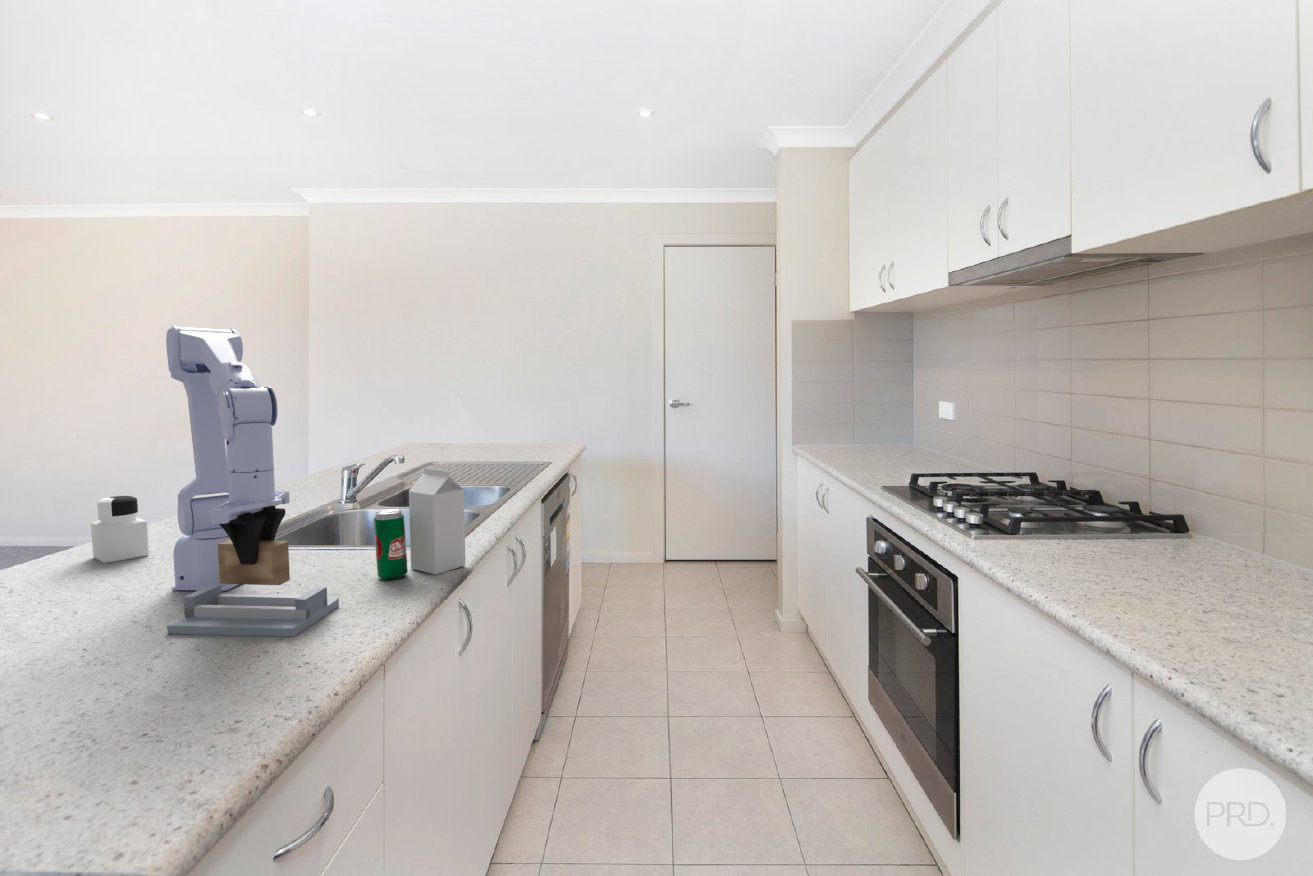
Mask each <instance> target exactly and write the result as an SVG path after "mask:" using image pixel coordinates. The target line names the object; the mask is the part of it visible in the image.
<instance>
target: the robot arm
mask: <svg viewBox="0 0 1313 876" xmlns="http://www.w3.org/2000/svg"><path fill="white" fill-rule="evenodd" d="M165 336H166V339H165V344H166V345H165V347H166V354H167V365H168V366H167V367H168V372H170V378H171V379H173V380H176V381H178V382H180V383H182V385H183V387H184V389H185V393H186V396H187V404H188V405H187V406H188V413H189V414H188V415H189V422H190V423H189V424H190V431H191V442H192V450H193V451H192V452H193V460H194V462H193V463H194V471H195V478H194V479H193V480H192V481H190V482H189V483H187V484H186V485H185V486H184V487H182V488H181V489H180V490H179V492H178V494H177V522H178V527H179V530H180V532H181V534H183V535H182V536H180V538H179V539H178V540H176V543H175V544H174V547H173V555H172V556H173V567H174V569H173V570H174V586H171V590H172V591H198V590H200V589H202V588H205V587H207V586H209V585H211V584H218V585H221V589H222V592H226V591H229V590H231V589H233V588H235V587H237V586H239V585H240V584H220V579H219V559H218V544H219V543H221V542H224V541H227V540H231V541H232V543H233V546H234V548H235V550H236V553H237V556H238V559H239V561H240V564H246V565H254V564H256V563H257V560H258V554H259V540H264V541H276V540H275V539H276V535H277V532H278V529H279V527H280V524H282V521H283V519H284V518H285V516H286V508H277V507H276V506H279V505H289V504H290V491H289V490H276V488H275V487H276V486H275V485H276V484H275V466H274V465H275V463H274V462H275V461H274V445H273V443H274V442H273V441H274V440H273V427H274V426H275V425H276V423H277V420H278V408H279V407H278V399H277V397H276V393H275V391H274V390H273V387H271V386H265V385H264V386H262V385H260V383H259V381H258V380H257V379H256V376H255V375H254V374H253V372H252V370H251V369H250V368H249V367H248V366H247V365H245V364H244V363H242V360H243V356H244V355H243V354H244V345H243V341H242V340H243V339H242V336H241V334H240V333H239V332H238V331H237V329H234V328H232V329H220V328H219V329H217V328H216V329H215V328H198V327H179V326H176V325H172V326H170V327H169V328H168V329H167V332H166V335H165ZM224 493H225V494H224ZM226 493H228V494H226ZM214 494H222V495H214ZM203 495H204V497H195V496H203ZM207 495H213V496H207ZM194 497H195V498H194Z"/></svg>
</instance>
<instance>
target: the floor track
mask: <svg viewBox="0 0 1313 876" xmlns="http://www.w3.org/2000/svg"><path fill="white" fill-rule="evenodd" d="M222 592H223V591H222V589H221V585H218V584H211V585H209V586H207V587H205V588H202V589H200V590H195V591H194V592H191V593H188V594H187V595H185V596H183V611H184V612H183V613H184V617H182V618H180V619H177V620H176V621H173V622H171V623H169V624H167V625H166V628H167V629H166V632H167V633H172V634H171V635H200V636H201V635H202V636H203V635H204V636H209V635H210V636H241V637H243V636H244V637H245V636H246V637H247V636H248V637H287V638H290V637H292V638H293V637H295V636H297V635H298V634H300V633H301V632H302V631H304V630H305V629H307V628H308V627H310V626H312V625H313V624H315V623H316V622H318V621H319V620H320V619H322V618H323V617H325V616H326V615H328V614H329V613H331V612H332V611H334V610H335V609H337V608H338V607H339V606H340V603H339V601H340V599H339V598H333V597H332V598H328V588H327V586H316V587H314V588H312V589H310V590H308V591H307V592H306V593H304V594H301V595H288V594H287V595H283V594H282V595H281V594H280V595H278V594H276V595H275V594H238V593H237V594H231V593H222Z"/></svg>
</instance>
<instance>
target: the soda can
mask: <svg viewBox="0 0 1313 876" xmlns="http://www.w3.org/2000/svg"><path fill="white" fill-rule="evenodd" d="M373 528H374V529H373V530H374V543H375V545H374V546H375V556H376V557H375V558H376V559H375V560H376V570H377V577H378V578H379V579H381V580H384V581H392V580H398V579H402V578H403V577H405V576H406V575H407V574H408V569H409V568H408V557H407V544H406V543H407V540H406V539H407V538H406V530H405V529H406V526H405V515H404V514H403V513H402V510H401V509H396V508H395V509H394V508H393V509H384V510H383V509H382V510H378V511H376V512H375V516H374V517H373Z"/></svg>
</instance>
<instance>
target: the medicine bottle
mask: <svg viewBox="0 0 1313 876" xmlns="http://www.w3.org/2000/svg"><path fill="white" fill-rule="evenodd" d="M96 504H97V518H98V519H97V521H93V522H91V523H90V528H91V529H90V530H91V543H92V546H91V547H92V556H93V558H95V559H96V560H98V561H100V562H101V563H104V564H108V563H114V562H119V561H125V560H132V559H135V558H142V557H148V556H149V555H150V548H149V547H150V546H149V534H148V533H149V532H148V521H146V520H144V519H142V518H139V517H138V516H139V508H138V507H139V505H138V498H136V496H135V497H134V496H132V495H116V496H108V497H107V496H106V497H104V498H102V499H99V500H98V501H97V503H96Z"/></svg>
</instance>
